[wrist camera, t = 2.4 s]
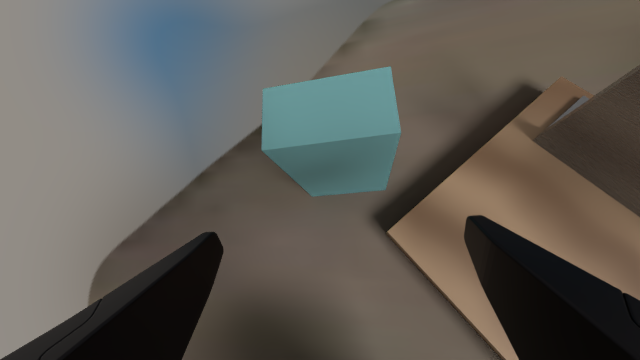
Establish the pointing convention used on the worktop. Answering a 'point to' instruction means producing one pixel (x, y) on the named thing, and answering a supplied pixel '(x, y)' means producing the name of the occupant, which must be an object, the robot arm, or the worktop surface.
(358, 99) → the teal rectangular block
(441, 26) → the worktop surface
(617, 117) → the grey metal bookend
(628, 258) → the wooden board
